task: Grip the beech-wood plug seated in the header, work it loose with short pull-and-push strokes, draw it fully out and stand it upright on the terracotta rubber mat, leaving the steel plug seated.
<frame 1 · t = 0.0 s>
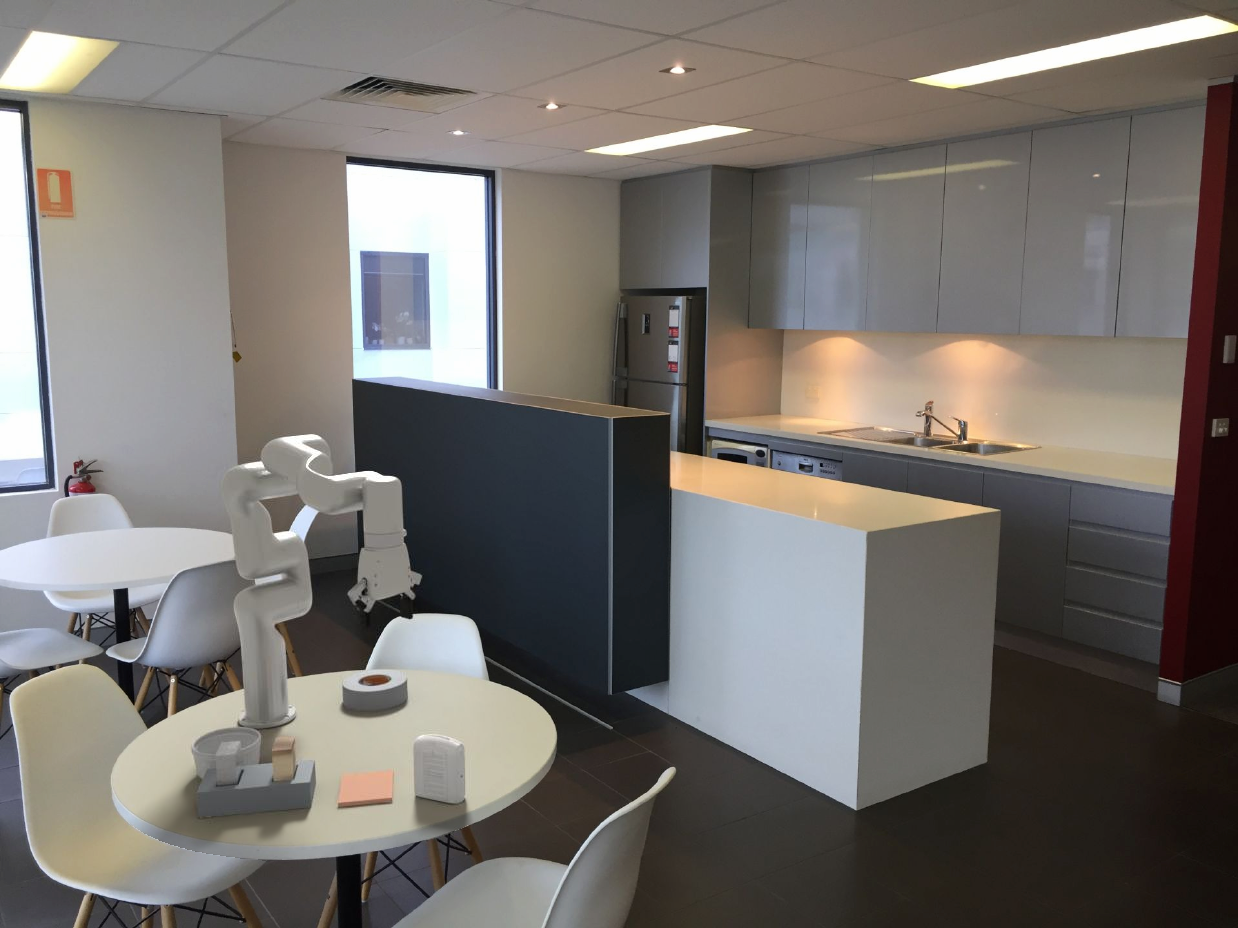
hand: (387, 623, 197), 31 cm above the table, tool pointing down, fingers open, 9 cm apart
mat: (366, 789, 194), on the table
header: (259, 799, 190), on the table
tape roll: (375, 700, 241), on the table
beech plug: (286, 797, 191), resting in header
steel plug: (231, 802, 189), resting in header
photo printer: (440, 797, 191), on the table
ramekin: (228, 773, 202), on the table
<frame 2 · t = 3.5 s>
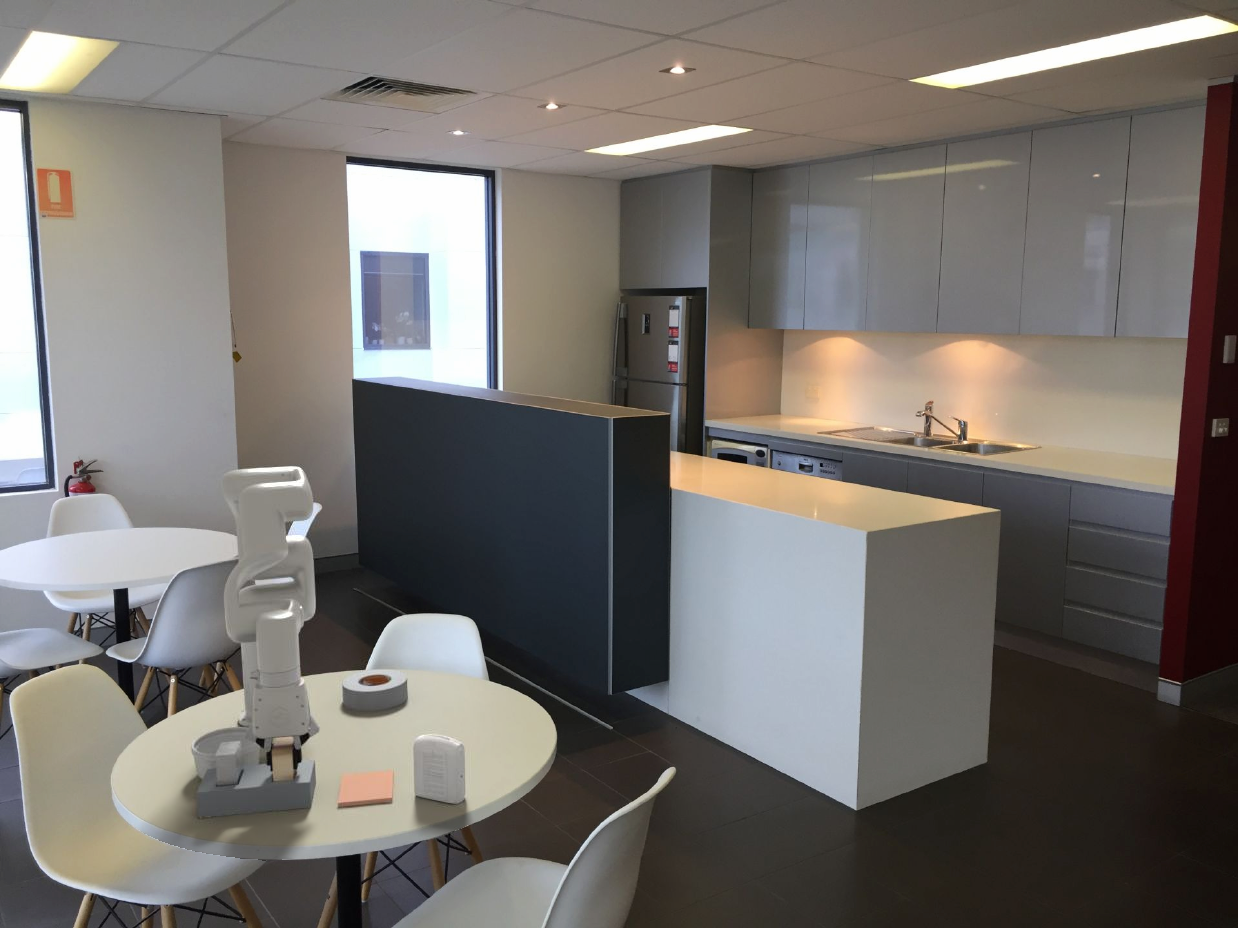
hand: (284, 766, 190), 6 cm above the table, tool pointing down, fingers closed on beech plug, 3 cm apart
beech plug: (286, 797, 191), resting in header, touching gripper
everything else where it was.
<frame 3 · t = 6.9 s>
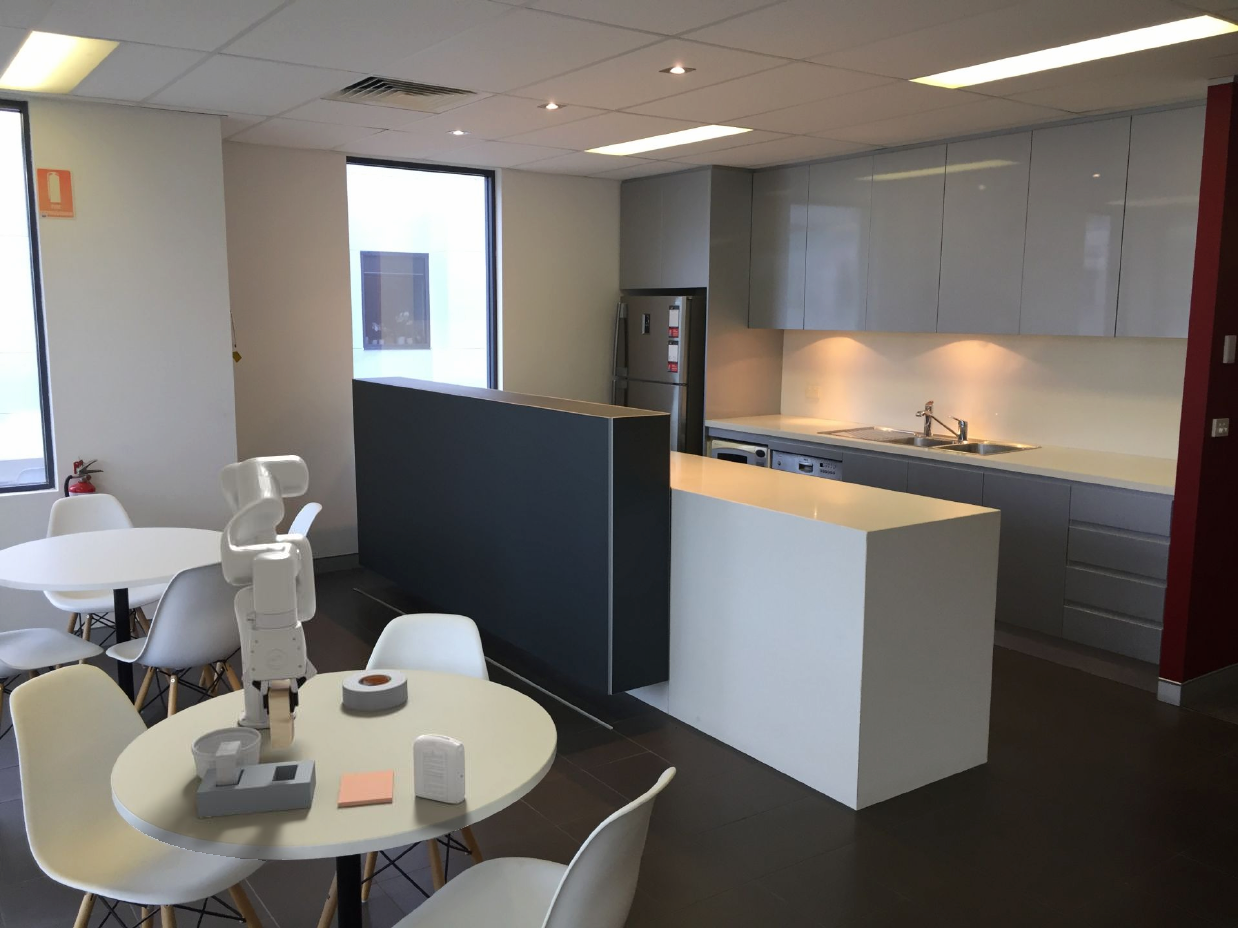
hand: (281, 709, 189), 18 cm above the table, tool pointing down, fingers closed on beech plug, 3 cm apart
beech plug: (283, 741, 190), point 11 cm above the table, touching gripper
everything else where it was.
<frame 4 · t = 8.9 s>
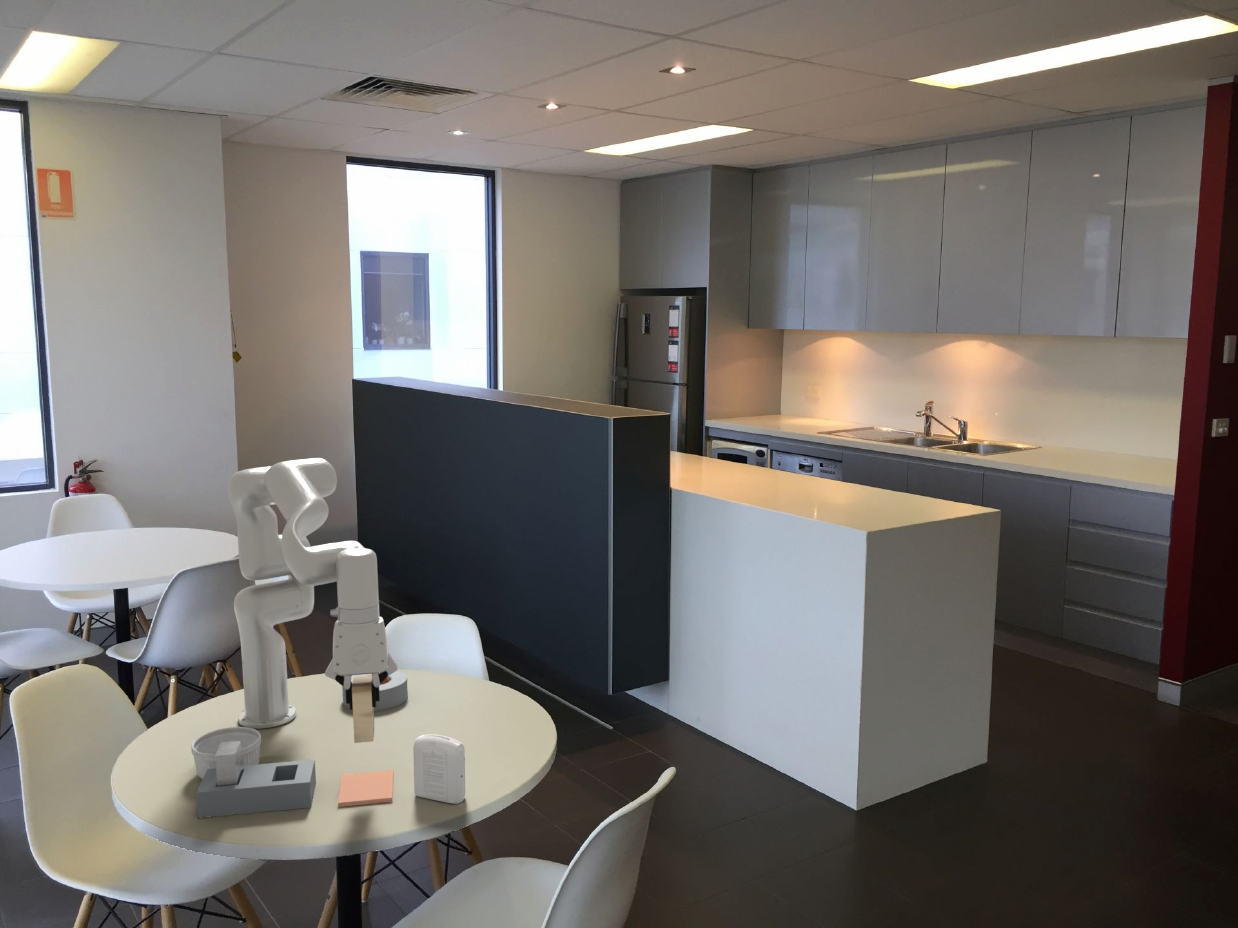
hand: (363, 704, 191), 17 cm above the table, tool pointing down, fingers closed on beech plug, 3 cm apart
beech plug: (364, 735, 192), point 11 cm above the table, touching gripper
everything else where it was.
when the fingers open (8 cm above the table, at t = 10.7 s): beech plug drops 1 cm, resting on mat.
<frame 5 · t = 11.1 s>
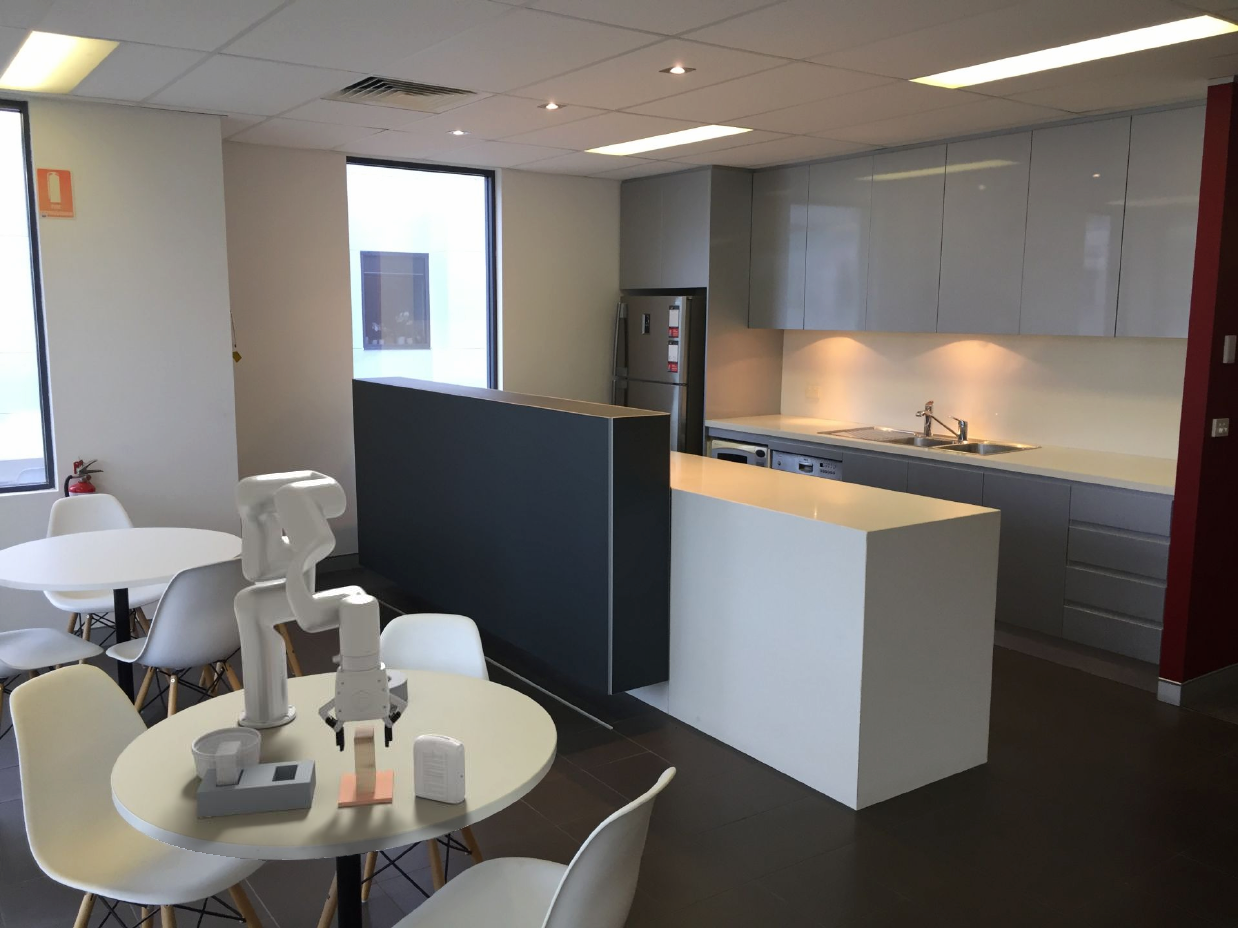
hand: (364, 746, 193), 9 cm above the table, tool pointing down, fingers open, 8 cm apart
beech plug: (366, 785, 194), point 1 cm above the table, touching mat
everything else where it was.
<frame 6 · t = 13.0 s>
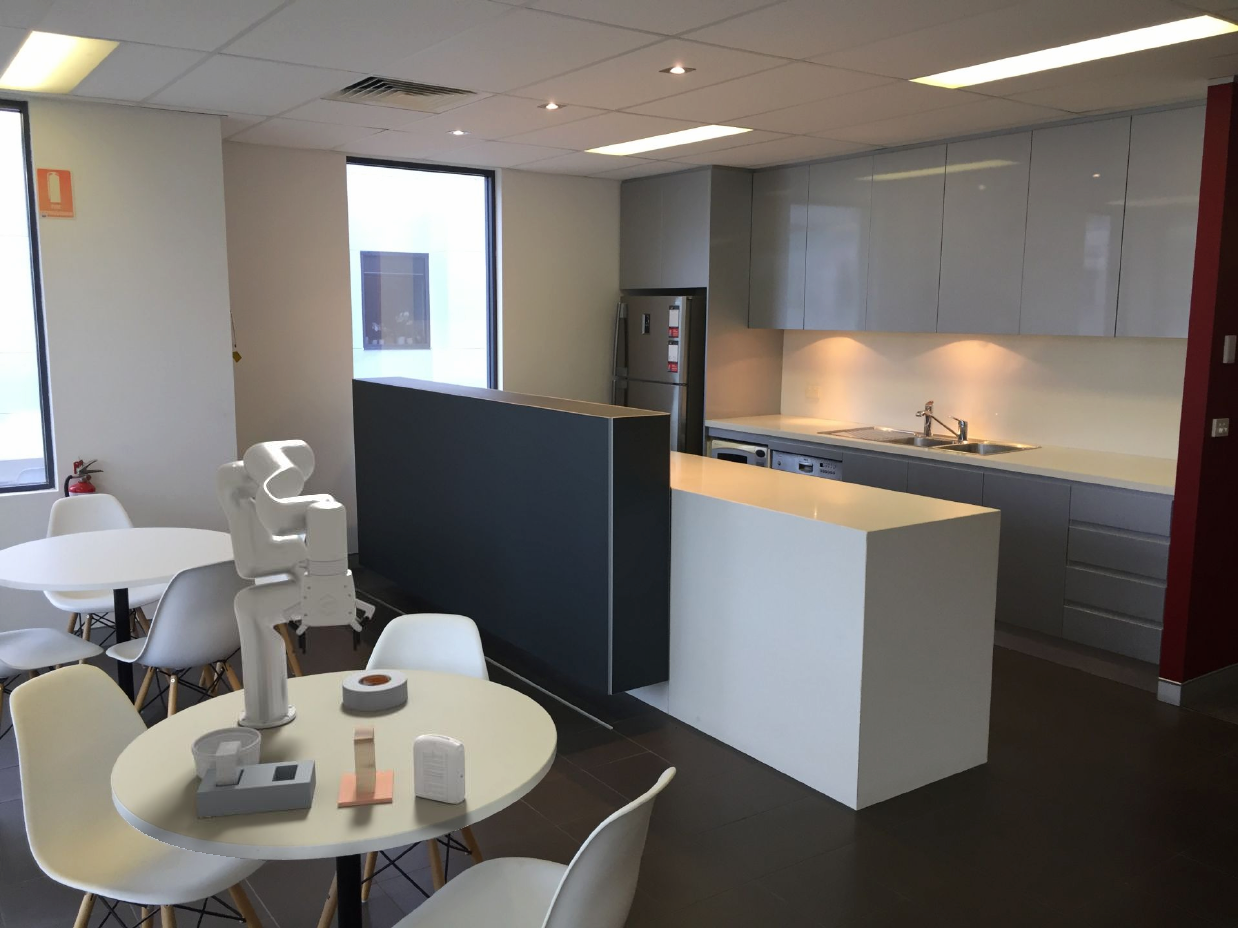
hand: (330, 650, 195), 27 cm above the table, tool pointing down, fingers open, 9 cm apart
nothing on the table moved.
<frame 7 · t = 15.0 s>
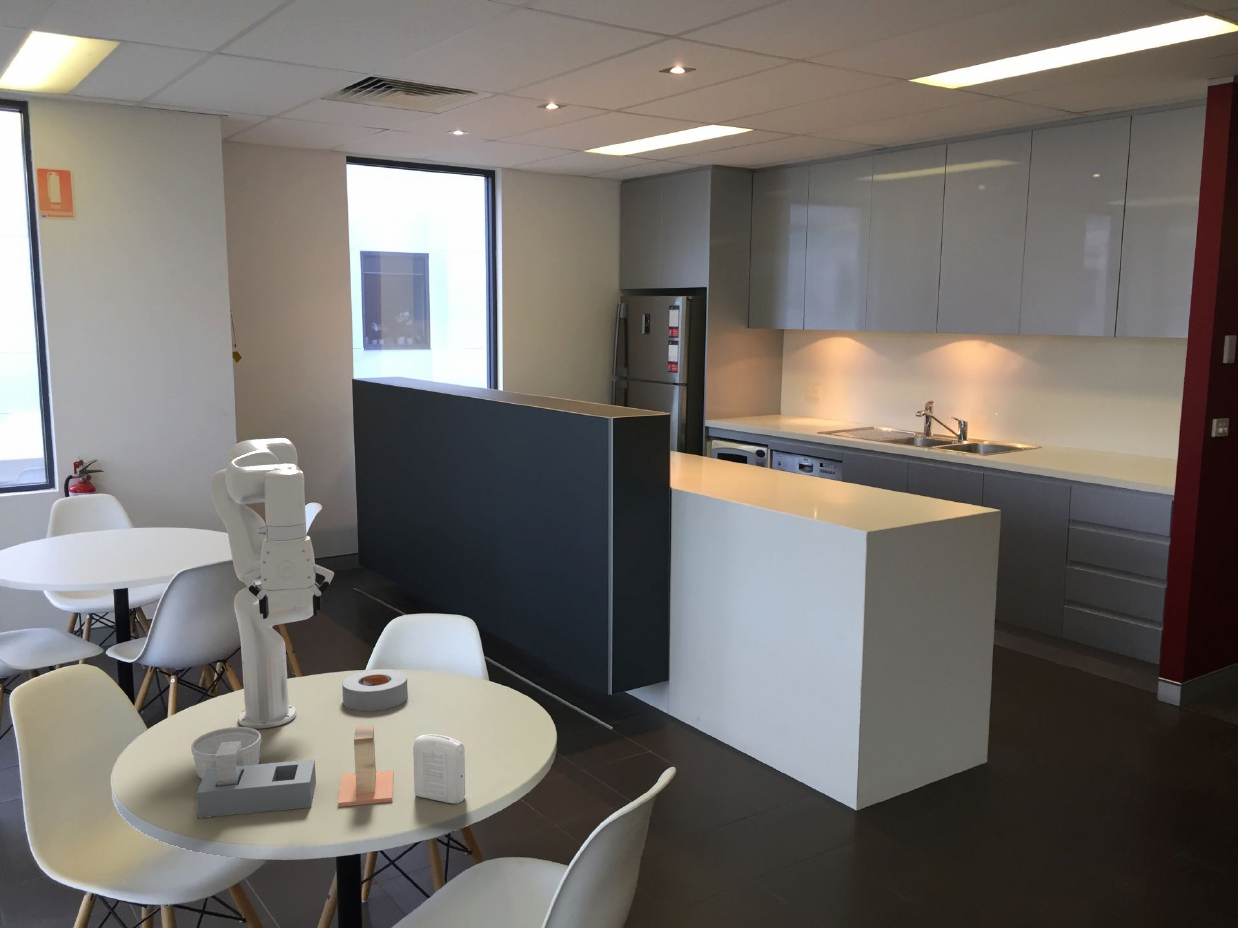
hand: (291, 615, 199), 32 cm above the table, tool pointing down, fingers open, 9 cm apart
nothing on the table moved.
at the end: beech plug inside the target area on the mat (0.0 cm from its centre), point 0.8 cm above the mat's base; beech plug tilted 0°; steel plug moved 0.0 cm from its start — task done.
